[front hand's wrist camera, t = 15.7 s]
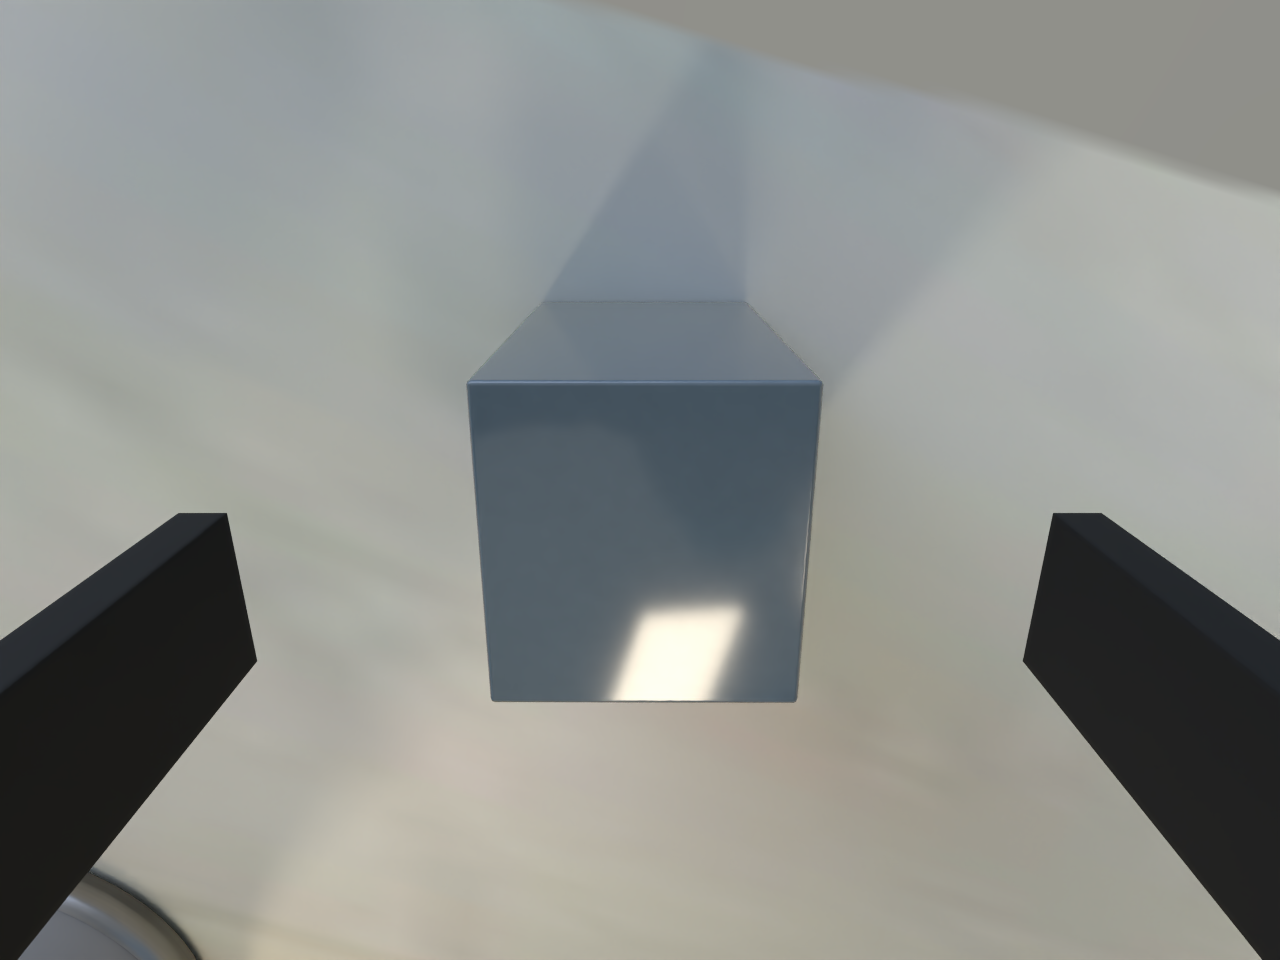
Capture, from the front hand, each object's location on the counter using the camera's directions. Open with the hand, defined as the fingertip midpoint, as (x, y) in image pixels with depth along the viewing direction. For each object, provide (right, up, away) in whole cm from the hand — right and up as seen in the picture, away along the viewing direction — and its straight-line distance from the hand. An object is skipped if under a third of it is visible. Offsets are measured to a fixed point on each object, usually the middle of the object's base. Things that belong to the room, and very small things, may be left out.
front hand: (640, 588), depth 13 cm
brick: (0, +4, +11) cm, 12 cm away
